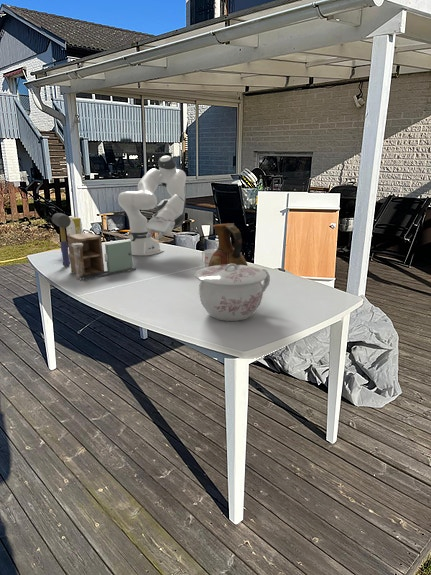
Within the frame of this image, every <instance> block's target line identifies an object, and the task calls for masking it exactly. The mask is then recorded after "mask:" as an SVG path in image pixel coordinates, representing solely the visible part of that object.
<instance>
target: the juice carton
mask: <svg viewBox="0 0 431 575" xmlns="http://www.w3.org/2000/svg"><path fill="white" fill-rule="evenodd" d="M68 217H69V218H70V220H71V223H70V225H69V226H68V227H66V228H65V229H66V230H65V231H66V236H67V235H74V234H82V233H83V232H84V230H83V224H82V218H81V217H76V216H74V217H73V215H70V216H68Z"/></svg>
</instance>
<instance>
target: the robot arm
mask: <svg viewBox="0 0 431 575" xmlns="http://www.w3.org/2000/svg"><path fill="white" fill-rule="evenodd" d="M157 164H158V168H159V169H157V168H151V169H149V170H148V171H147V172H145V174H143V176H142V178H140V180H139V181H138V184H137V191H136V190H135V191H134V190H127V191H122V192H120V193H119V194H118V198H117V203H118V205H119V206H120V207H121V208H122V209H123V210H124V211H125V214H126V215H127V218H128V223H129V241H131V249H132V256H151V255H156V254H159V253H163V252H165V251H164V250H165V249H163V248H161V246H160V242H159V239H161V238H163V236H170V234H171V233H172V231H174V230H173V229H174V228H178V227H181V226H182V225H183V224H184V223H185V218H186V216H185V213H186V212H185V210H186V204H187V203H186V202H187V197H186V192H185V185H186V182H187V174H186V172H185V171H184V170H182V169H180V168H179V169H178V168H177V164H176V161H175V160H174V158H173V157H172V155H163V156H161V157H159V159H158V162H157ZM159 185H161V186H162V187H164V188H166V191H167V193H168V194H169V195H170V198H168V199H167V198H164V199H160V201H159V202H158V198H157V195H156V194H155V192H156V190H157V188H158V186H159ZM157 202H158V203H157ZM155 207H156V213H153V215H151V216H152V218H150V219H149V220H148V218H147V217H146V216H144V215H143V214H142V213H141V211H140V210H142V211H145V210H146V211H148V210H154V209H155ZM155 233H156V234H158V235H155V237H153V235H154V234H155Z"/></svg>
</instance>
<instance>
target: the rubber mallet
mask: <svg viewBox="0 0 431 575" xmlns="http://www.w3.org/2000/svg"><path fill="white" fill-rule="evenodd" d="M51 221H52V223H53V224H54V225H56V226H57V227H58V228H59V231H60V240H61V241H60V251H61V255H62V266H63V268H64V267H65V268H68V267H70V266H71V264H70V255H69V247H68V240H67V234H66V230H65V229H66V227H68V226H69V225H70V223H71V220H70V218H69V216H68V215H66V214H65V213H62V212H56V213H54V214H53V215H52V216H51Z"/></svg>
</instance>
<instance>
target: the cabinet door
mask: <svg viewBox="0 0 431 575" xmlns="http://www.w3.org/2000/svg"><path fill="white" fill-rule="evenodd" d="M104 246H105V253H104V254H103V256H104V261H105V263H106V267H107V268H106V271H108V273H110V272H115V271H119V270H124V269H129V268H134V265H133V255H132V249H131V240H130V239H129V240H121V241H116V242H111V243H110V242H109V243H105V245H104Z"/></svg>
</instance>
